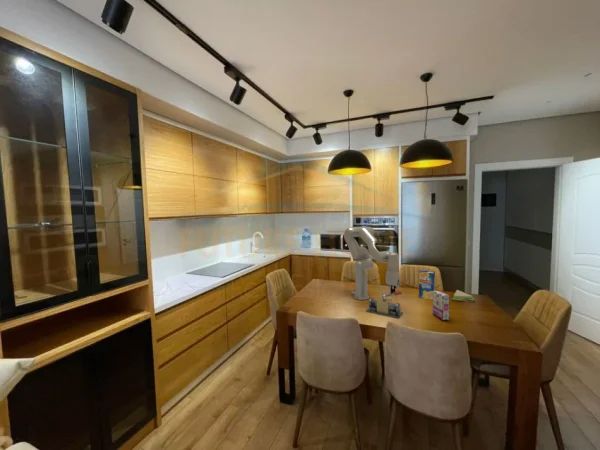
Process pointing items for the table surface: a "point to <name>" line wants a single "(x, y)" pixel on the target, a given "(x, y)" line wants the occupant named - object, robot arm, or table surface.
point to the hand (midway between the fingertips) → (392, 293)
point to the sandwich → (462, 296)
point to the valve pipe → (384, 308)
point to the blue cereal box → (426, 284)
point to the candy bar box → (441, 305)
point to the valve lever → (392, 294)
